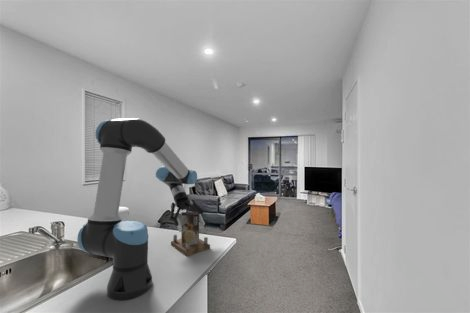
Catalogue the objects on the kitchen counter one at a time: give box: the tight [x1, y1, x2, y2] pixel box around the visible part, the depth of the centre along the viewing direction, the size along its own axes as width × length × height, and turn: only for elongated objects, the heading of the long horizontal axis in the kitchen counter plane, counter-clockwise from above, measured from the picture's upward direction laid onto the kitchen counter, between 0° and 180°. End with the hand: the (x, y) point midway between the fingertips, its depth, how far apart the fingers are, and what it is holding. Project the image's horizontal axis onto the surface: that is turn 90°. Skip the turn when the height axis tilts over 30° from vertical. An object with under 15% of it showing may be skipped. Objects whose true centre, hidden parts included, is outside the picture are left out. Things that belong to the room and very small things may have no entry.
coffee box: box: [180, 211, 200, 246], centre depth 118 cm, size 9×6×16 cm
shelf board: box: [170, 234, 211, 257], centre depth 118 cm, size 14×17×6 cm
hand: (192, 228), depth 116 cm, fingers open, 13 cm apart
